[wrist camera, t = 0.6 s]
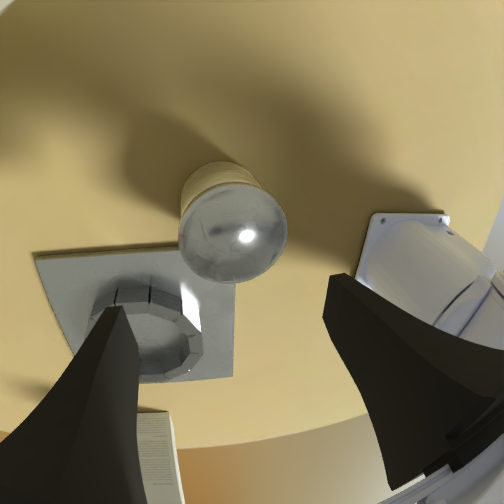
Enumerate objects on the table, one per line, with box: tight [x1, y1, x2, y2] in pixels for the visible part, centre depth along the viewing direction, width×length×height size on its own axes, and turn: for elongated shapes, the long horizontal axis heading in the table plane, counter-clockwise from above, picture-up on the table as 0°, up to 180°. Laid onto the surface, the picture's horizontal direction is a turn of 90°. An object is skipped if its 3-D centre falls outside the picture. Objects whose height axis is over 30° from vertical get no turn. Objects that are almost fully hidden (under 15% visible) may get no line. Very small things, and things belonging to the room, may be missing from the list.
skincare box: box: [137, 412, 185, 504], centre depth 24 cm, size 6×4×12 cm
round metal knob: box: [178, 161, 288, 284], centre depth 16 cm, size 5×5×5 cm
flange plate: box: [35, 246, 235, 384], centre depth 21 cm, size 14×14×2 cm
